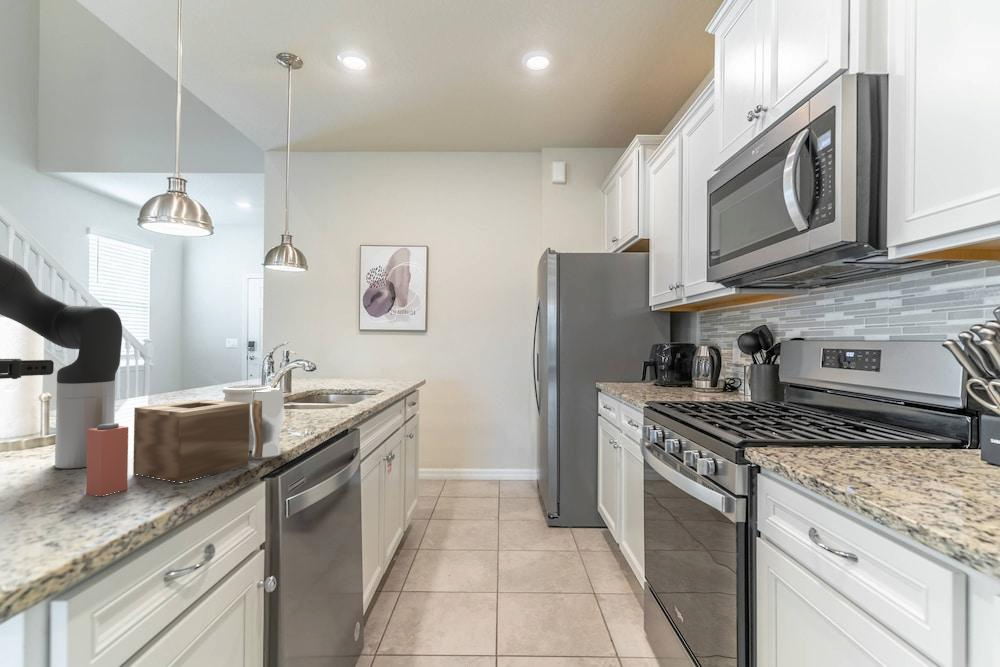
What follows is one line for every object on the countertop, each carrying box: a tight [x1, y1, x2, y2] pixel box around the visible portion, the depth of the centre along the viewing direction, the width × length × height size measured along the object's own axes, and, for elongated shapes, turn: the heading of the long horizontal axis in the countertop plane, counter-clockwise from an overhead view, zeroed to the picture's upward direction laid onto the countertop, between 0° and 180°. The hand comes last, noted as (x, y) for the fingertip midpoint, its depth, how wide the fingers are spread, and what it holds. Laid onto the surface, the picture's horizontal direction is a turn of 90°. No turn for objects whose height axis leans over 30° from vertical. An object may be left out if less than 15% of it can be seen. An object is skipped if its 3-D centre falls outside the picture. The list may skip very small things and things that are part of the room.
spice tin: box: [85, 422, 129, 497], centre depth 80 cm, size 4×4×12 cm
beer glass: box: [250, 387, 285, 460], centre depth 105 cm, size 7×7×15 cm
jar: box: [222, 384, 272, 452], centre depth 112 cm, size 11×10×15 cm
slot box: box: [132, 398, 250, 482], centre depth 94 cm, size 14×14×13 cm
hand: (36, 366), depth 71 cm, fingers open, 8 cm apart
